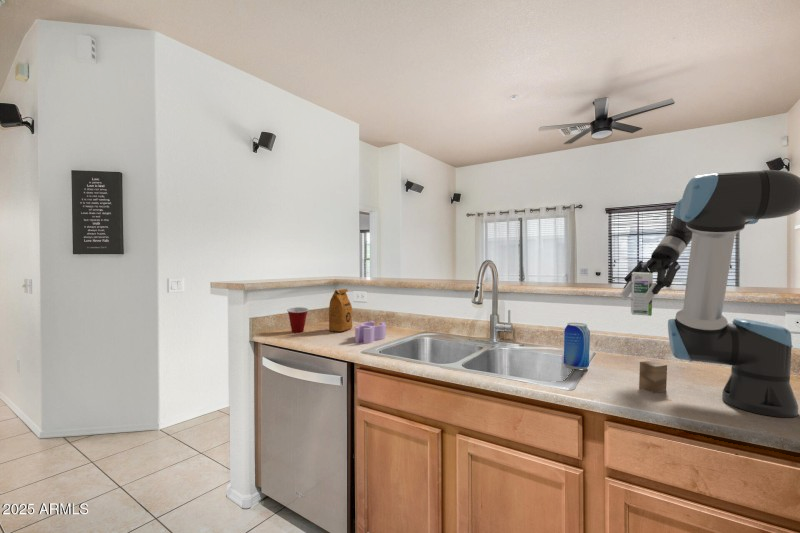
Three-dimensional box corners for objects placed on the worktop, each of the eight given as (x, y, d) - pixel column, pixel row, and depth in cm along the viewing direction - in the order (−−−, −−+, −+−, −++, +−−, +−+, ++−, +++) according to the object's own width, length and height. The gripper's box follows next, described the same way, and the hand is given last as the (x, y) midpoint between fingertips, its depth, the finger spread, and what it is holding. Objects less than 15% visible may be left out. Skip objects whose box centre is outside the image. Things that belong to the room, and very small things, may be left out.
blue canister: (558, 365, 139) (559, 323, 139) (573, 363, 143) (574, 321, 143) (578, 372, 132) (579, 327, 131) (594, 369, 136) (595, 325, 135)
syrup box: (631, 314, 129) (633, 272, 128) (630, 312, 134) (631, 271, 133) (651, 316, 126) (653, 273, 126) (649, 313, 131) (650, 272, 131)
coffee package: (355, 329, 203) (355, 288, 202) (341, 333, 192) (341, 290, 191) (340, 327, 207) (340, 287, 207) (326, 331, 196) (326, 289, 196)
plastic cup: (286, 334, 188) (286, 310, 188) (287, 330, 199) (287, 307, 198) (308, 333, 191) (308, 310, 190) (308, 329, 201) (308, 307, 201)
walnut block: (666, 391, 114) (667, 365, 114) (654, 393, 113) (655, 366, 112) (650, 385, 119) (651, 360, 119) (639, 387, 117) (639, 362, 117)
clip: (372, 345, 169) (372, 329, 169) (348, 342, 174) (348, 327, 173) (390, 336, 188) (390, 322, 187) (368, 334, 192) (368, 320, 192)
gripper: (704, 259, 125) (670, 310, 120) (644, 259, 145) (612, 302, 139) (694, 243, 123) (659, 293, 118) (635, 245, 143) (602, 288, 137)
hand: (634, 298), depth 129 cm, fingers closed on syrup box, 8 cm apart
